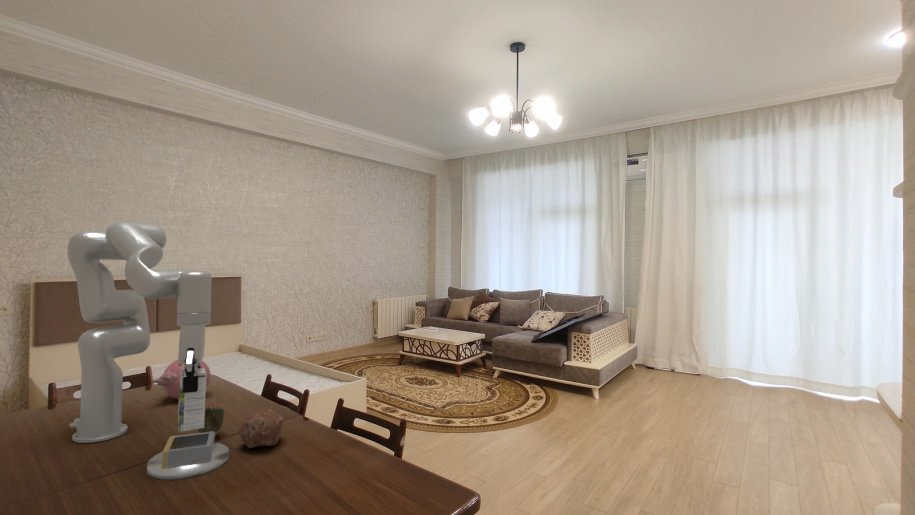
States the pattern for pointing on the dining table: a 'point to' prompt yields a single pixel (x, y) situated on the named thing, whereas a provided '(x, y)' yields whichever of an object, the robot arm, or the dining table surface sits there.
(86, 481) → the dining table surface
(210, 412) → the dark green lumpy clump
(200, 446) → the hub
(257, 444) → the decorative rock
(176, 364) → the inflated balloon
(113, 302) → the robot arm
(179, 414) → the syrup box
